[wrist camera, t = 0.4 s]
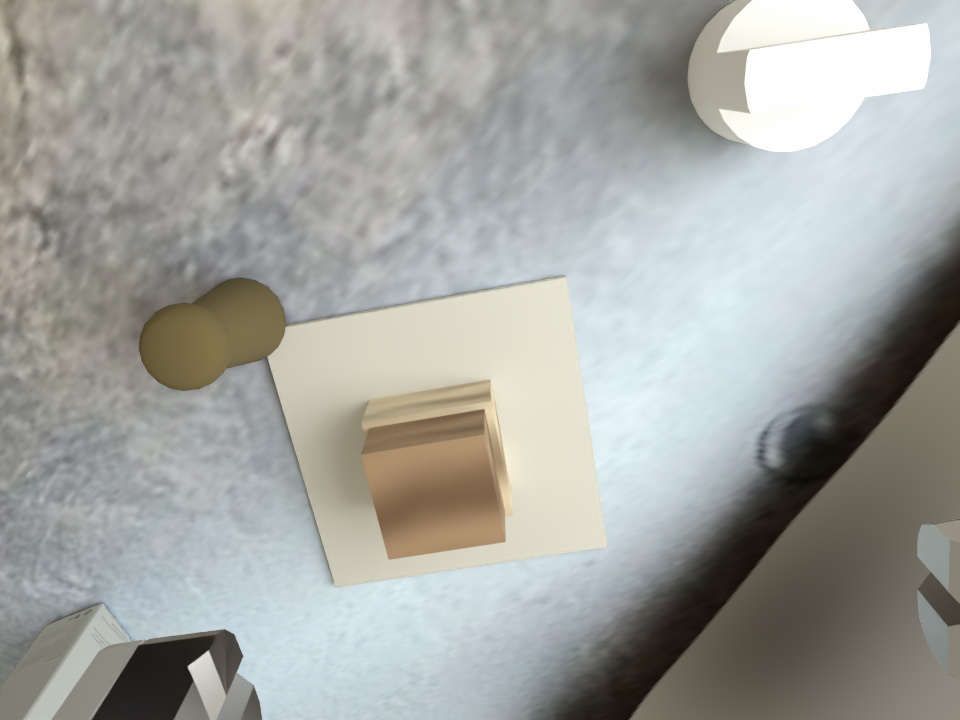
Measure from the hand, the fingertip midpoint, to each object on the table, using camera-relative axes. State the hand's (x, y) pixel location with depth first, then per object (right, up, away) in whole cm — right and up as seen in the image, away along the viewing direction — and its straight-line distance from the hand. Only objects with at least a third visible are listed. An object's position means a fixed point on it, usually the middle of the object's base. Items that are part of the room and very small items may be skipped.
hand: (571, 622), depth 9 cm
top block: (-4, -5, +45) cm, 46 cm away
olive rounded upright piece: (-18, +6, +46) cm, 50 cm away
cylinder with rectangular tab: (+17, +22, +40) cm, 49 cm away
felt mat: (-4, -3, +49) cm, 50 cm away
